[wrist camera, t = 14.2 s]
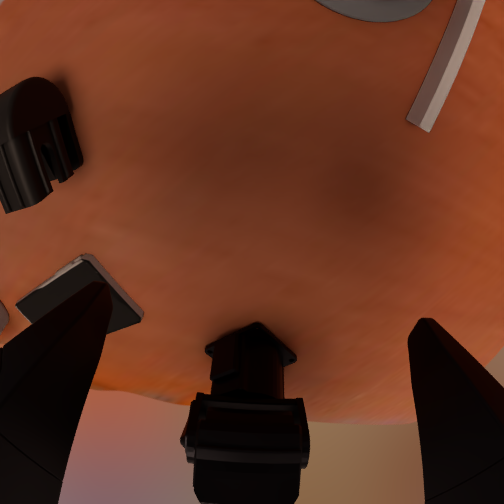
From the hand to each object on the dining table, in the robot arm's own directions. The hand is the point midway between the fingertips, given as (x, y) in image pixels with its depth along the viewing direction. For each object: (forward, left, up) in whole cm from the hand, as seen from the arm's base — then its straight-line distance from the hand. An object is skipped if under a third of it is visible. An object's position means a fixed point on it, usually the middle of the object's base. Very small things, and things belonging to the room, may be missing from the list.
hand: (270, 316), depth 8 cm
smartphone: (0, +24, -14) cm, 27 cm away
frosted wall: (+2, -17, -13) cm, 21 cm away
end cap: (+13, +12, -13) cm, 22 cm away
